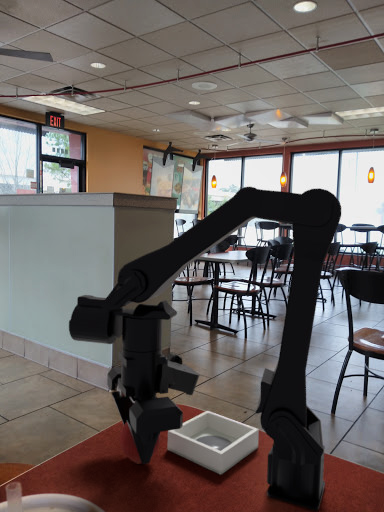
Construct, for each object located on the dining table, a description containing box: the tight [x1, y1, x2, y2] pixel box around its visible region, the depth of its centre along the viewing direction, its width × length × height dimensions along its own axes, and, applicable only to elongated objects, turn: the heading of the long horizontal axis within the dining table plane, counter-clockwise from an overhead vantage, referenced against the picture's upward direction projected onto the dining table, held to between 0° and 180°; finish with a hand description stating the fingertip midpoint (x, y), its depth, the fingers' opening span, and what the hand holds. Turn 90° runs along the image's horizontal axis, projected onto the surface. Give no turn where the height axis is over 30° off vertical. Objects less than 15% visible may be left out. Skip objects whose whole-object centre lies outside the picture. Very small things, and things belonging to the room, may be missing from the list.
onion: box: [119, 422, 161, 465], centre depth 61 cm, size 6×6×8 cm
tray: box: [166, 410, 259, 476], centre depth 66 cm, size 10×10×3 cm
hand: (139, 452), depth 61 cm, fingers closed on onion, 6 cm apart
